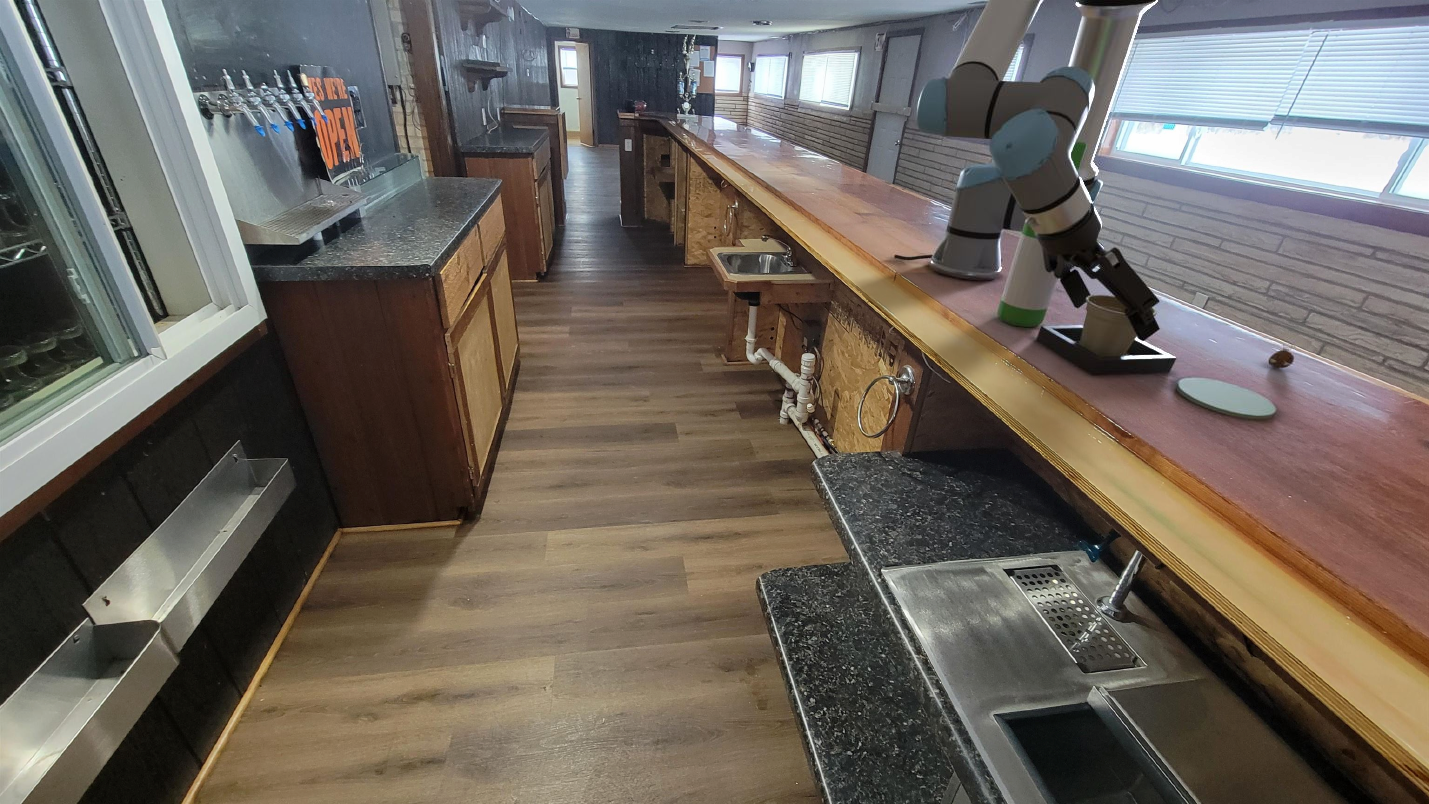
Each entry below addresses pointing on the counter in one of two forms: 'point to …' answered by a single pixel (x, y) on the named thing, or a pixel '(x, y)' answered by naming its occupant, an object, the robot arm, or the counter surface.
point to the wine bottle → (1031, 275)
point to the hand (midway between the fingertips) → (1114, 317)
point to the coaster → (1226, 398)
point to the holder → (1140, 361)
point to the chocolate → (1282, 358)
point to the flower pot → (1107, 327)
